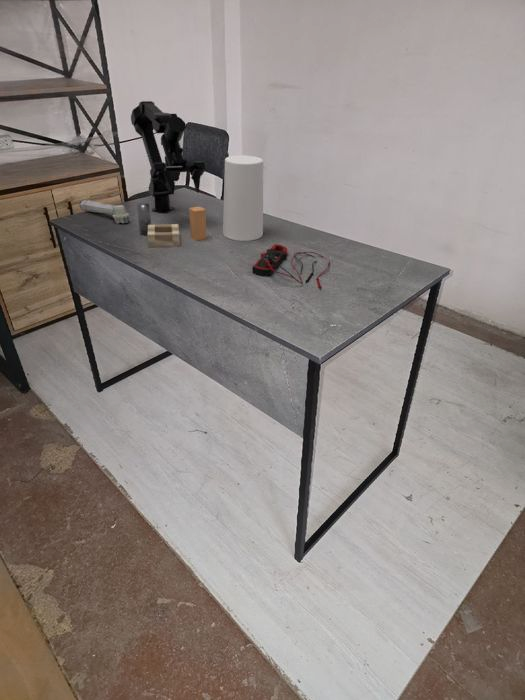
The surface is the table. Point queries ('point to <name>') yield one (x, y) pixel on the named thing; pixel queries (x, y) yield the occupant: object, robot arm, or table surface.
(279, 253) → the digital clamp meter
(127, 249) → the table surface
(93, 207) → the grey knobbed rod
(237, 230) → the cylinder
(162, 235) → the socket block
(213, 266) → the table surface
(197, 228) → the square bit
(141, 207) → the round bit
